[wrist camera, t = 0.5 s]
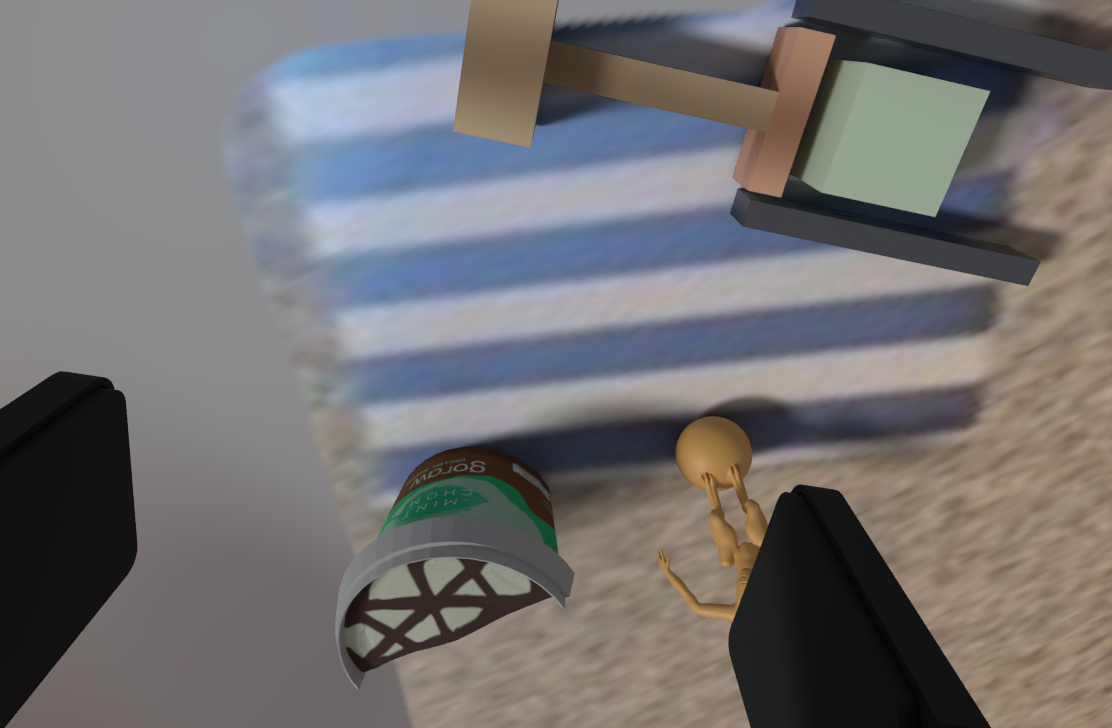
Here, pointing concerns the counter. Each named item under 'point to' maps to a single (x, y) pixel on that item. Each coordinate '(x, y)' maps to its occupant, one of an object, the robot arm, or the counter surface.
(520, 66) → the tan pedestal
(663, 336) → the counter surface
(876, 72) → the block
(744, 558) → the figurine
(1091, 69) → the dark grey rails
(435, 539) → the food container
